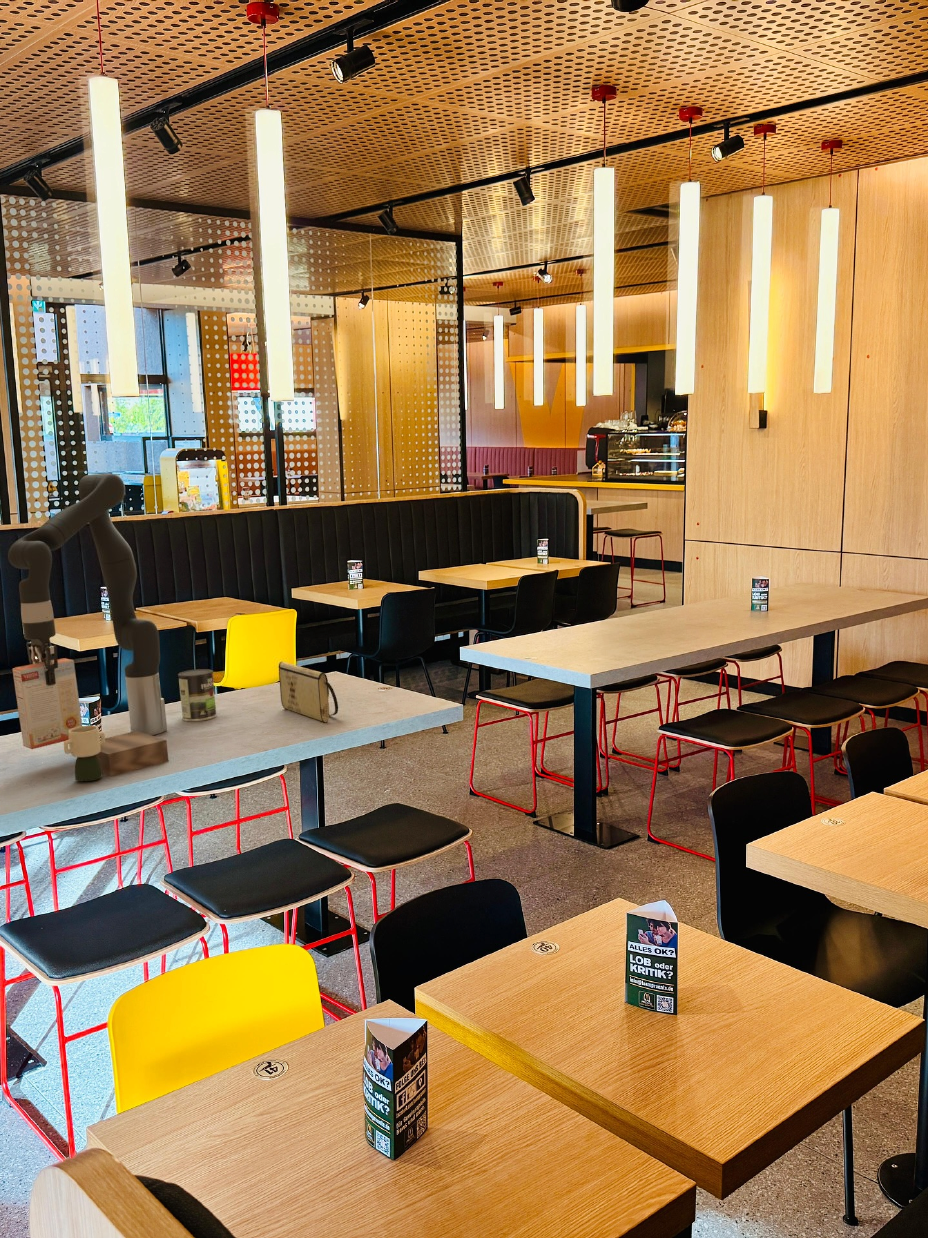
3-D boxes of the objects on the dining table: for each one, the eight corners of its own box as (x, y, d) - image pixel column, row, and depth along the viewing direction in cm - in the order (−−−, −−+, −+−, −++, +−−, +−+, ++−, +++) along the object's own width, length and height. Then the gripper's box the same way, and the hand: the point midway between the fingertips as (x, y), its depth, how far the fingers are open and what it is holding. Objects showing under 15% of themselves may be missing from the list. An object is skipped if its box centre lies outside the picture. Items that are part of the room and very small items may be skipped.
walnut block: (138, 752, 281) (136, 731, 280) (168, 762, 269) (166, 739, 269) (81, 766, 269) (79, 744, 268) (111, 777, 258) (108, 754, 257)
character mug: (100, 772, 262) (95, 722, 260) (116, 776, 258) (111, 725, 256) (60, 783, 254) (54, 732, 252) (76, 788, 249) (70, 736, 247)
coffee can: (223, 713, 319) (219, 669, 317) (204, 722, 309) (200, 676, 307) (194, 712, 322) (190, 668, 320) (175, 721, 313) (170, 675, 311)
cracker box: (74, 734, 276) (65, 657, 273) (84, 737, 272) (75, 659, 268) (21, 746, 266) (11, 666, 263) (31, 750, 262) (20, 669, 259)
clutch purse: (345, 720, 303) (341, 670, 301) (324, 724, 299) (320, 674, 296) (298, 704, 327) (294, 658, 324) (278, 708, 322) (274, 661, 320)
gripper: (64, 619, 261) (71, 684, 264) (41, 615, 272) (49, 677, 274) (34, 623, 256) (42, 689, 259) (12, 619, 267) (20, 683, 269)
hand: (46, 683), depth 267 cm, fingers closed on cracker box, 6 cm apart
